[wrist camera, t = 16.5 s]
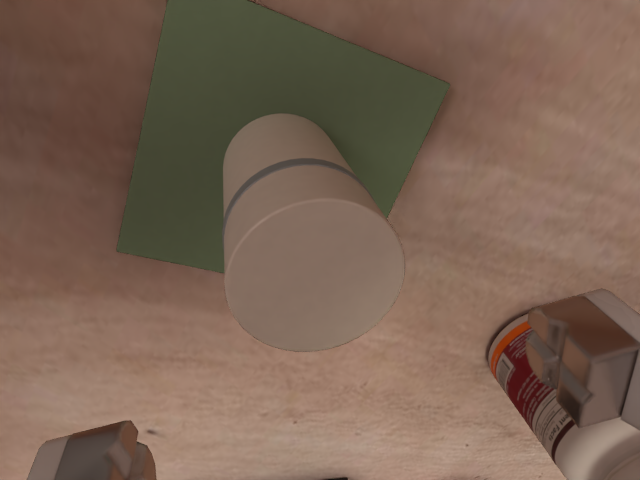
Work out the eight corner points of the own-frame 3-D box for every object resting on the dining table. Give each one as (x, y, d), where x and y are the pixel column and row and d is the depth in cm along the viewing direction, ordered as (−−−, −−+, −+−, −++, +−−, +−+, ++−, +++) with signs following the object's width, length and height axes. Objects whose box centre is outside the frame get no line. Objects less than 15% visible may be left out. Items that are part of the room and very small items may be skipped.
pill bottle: (585, 334, 31) (744, 487, 22) (514, 389, 33) (633, 554, 23) (543, 290, 28) (704, 443, 19) (467, 352, 30) (581, 523, 20)
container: (212, 212, 21) (207, 346, 13) (234, 98, 19) (244, 179, 11) (320, 230, 22) (373, 360, 15) (353, 127, 20) (435, 216, 12)
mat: (118, 245, 21) (116, 251, 21) (175, -30, 17) (173, -30, 16) (346, 292, 25) (348, 298, 25) (445, 81, 21) (450, 84, 20)
